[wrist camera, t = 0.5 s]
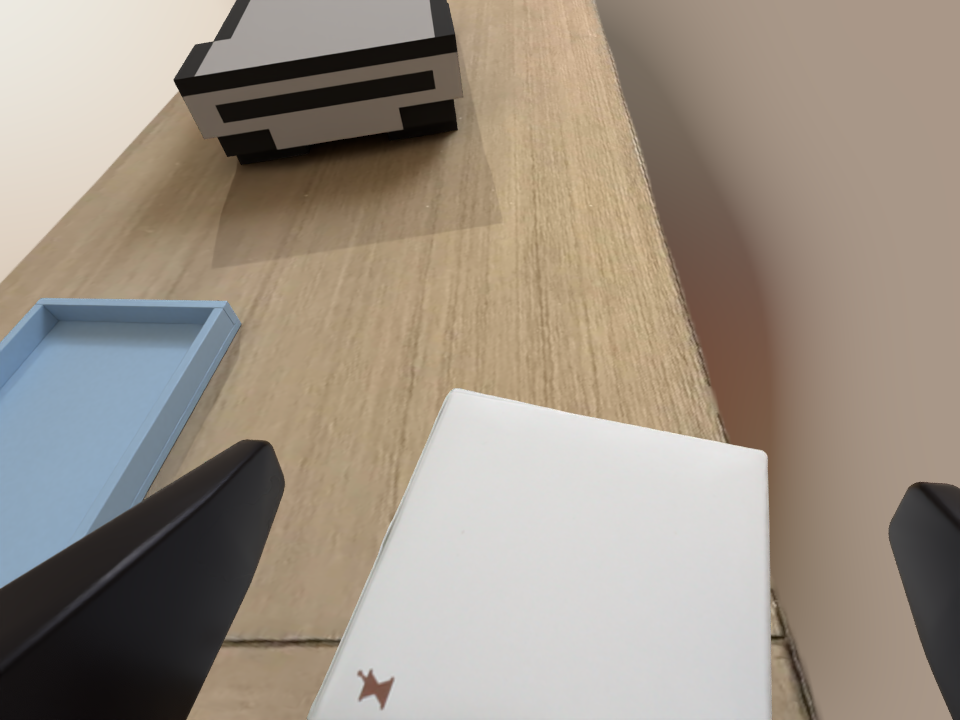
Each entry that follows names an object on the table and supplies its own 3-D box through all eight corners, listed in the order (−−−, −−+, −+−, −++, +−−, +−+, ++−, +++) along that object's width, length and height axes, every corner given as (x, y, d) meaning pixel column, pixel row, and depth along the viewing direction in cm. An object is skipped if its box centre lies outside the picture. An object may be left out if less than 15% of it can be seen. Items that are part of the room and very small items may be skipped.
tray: (-22, 792, 19) (-70, 790, 18) (-294, 737, 22) (-358, 731, 20) (241, 323, 34) (227, 300, 32) (62, 319, 36) (40, 297, 35)
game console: (444, 12, 66) (432, -72, 60) (469, 141, 45) (454, 33, 39) (276, 39, 66) (247, -41, 60) (225, 180, 46) (173, 79, 39)
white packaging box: (650, 869, 16) (785, 949, 7) (425, 772, 18) (282, 728, 9) (676, 617, 21) (780, 446, 11) (491, 562, 23) (443, 377, 13)
